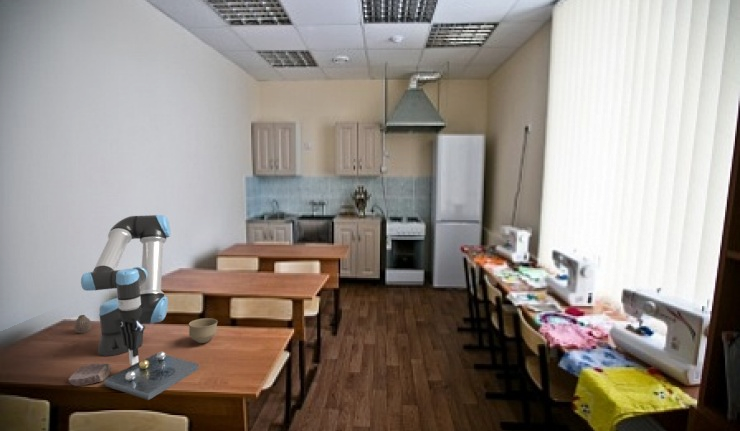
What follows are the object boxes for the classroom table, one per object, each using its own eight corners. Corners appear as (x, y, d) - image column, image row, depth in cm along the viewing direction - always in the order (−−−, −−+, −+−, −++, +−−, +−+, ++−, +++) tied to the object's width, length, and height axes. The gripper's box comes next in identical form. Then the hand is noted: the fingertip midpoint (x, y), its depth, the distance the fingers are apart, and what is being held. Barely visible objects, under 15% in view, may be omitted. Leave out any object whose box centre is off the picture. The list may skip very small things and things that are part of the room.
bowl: (223, 339, 174) (222, 319, 173) (199, 350, 163) (198, 329, 162) (208, 333, 181) (207, 314, 180) (184, 343, 170) (183, 323, 169)
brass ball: (137, 370, 142) (136, 361, 141) (145, 365, 145) (145, 357, 145) (143, 371, 141) (142, 363, 140) (151, 367, 144) (151, 359, 143)
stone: (81, 375, 143) (80, 364, 143) (113, 372, 145) (112, 362, 145) (65, 388, 134) (64, 376, 134) (100, 385, 136) (99, 374, 136)
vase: (71, 334, 180) (69, 317, 179) (83, 328, 187) (82, 312, 186) (82, 335, 179) (80, 318, 178) (95, 329, 185) (93, 313, 185)
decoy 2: (123, 381, 134) (122, 373, 133) (132, 376, 137) (131, 368, 137) (129, 383, 133) (129, 374, 132) (138, 378, 136) (138, 370, 135)
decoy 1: (154, 361, 149) (154, 353, 148) (162, 357, 152) (161, 349, 152) (160, 362, 147) (160, 354, 147) (168, 358, 151) (167, 350, 150)
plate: (104, 385, 135) (104, 379, 135) (157, 358, 156) (157, 353, 156) (148, 400, 127) (148, 393, 126) (198, 369, 147) (198, 363, 147)
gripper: (109, 308, 141) (114, 364, 143) (131, 313, 136) (135, 371, 139) (128, 302, 148) (132, 356, 150) (150, 306, 143) (153, 361, 146)
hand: (134, 363), depth 145 cm, fingers closed
